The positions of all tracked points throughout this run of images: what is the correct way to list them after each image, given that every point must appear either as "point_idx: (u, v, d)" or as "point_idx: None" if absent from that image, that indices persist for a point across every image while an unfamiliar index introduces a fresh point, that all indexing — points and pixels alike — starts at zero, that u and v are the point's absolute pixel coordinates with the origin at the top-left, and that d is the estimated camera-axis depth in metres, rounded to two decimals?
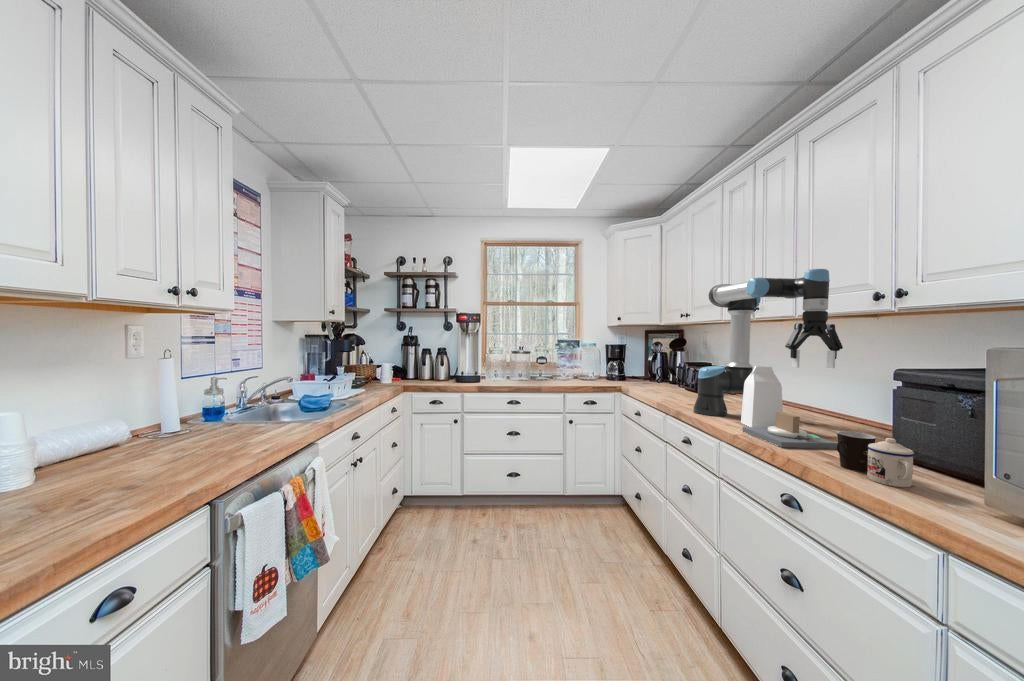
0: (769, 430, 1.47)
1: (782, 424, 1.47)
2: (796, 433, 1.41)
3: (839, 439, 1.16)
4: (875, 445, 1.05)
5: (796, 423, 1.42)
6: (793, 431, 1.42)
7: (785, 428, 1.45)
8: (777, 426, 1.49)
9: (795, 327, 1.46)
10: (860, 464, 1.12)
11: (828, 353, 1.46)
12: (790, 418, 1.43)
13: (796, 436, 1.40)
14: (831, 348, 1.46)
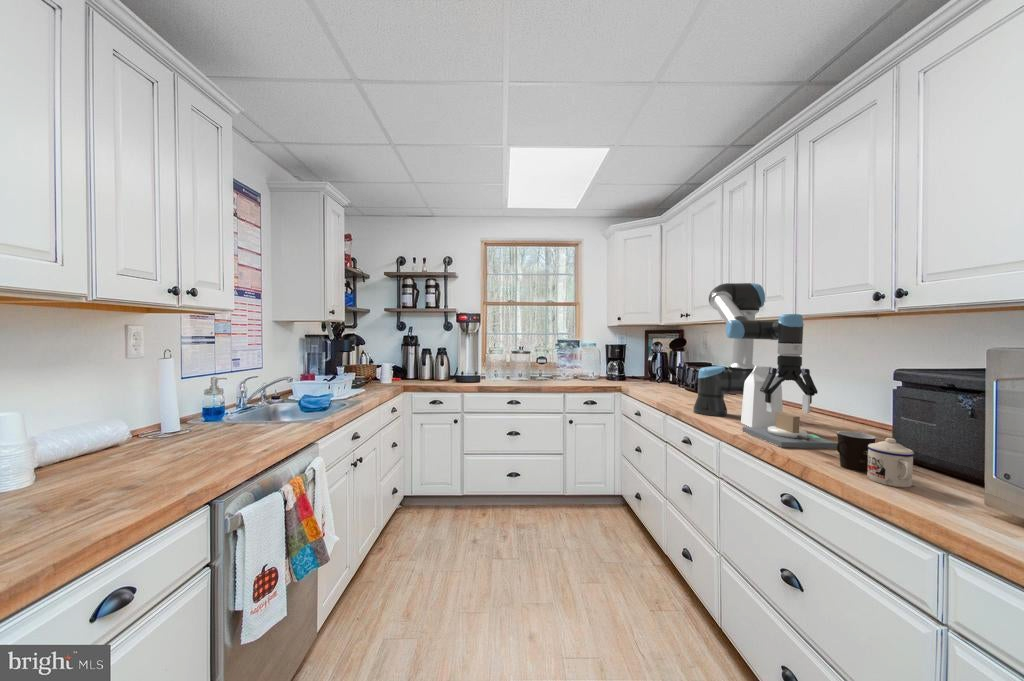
0: (769, 430, 1.47)
1: (782, 424, 1.47)
2: (796, 433, 1.41)
3: (839, 439, 1.16)
4: (875, 445, 1.05)
5: (796, 423, 1.42)
6: (793, 431, 1.42)
7: (785, 428, 1.45)
8: (777, 426, 1.49)
9: (769, 371, 1.46)
10: (860, 464, 1.12)
11: (804, 397, 1.46)
12: (790, 418, 1.43)
13: (796, 436, 1.40)
14: (806, 392, 1.46)
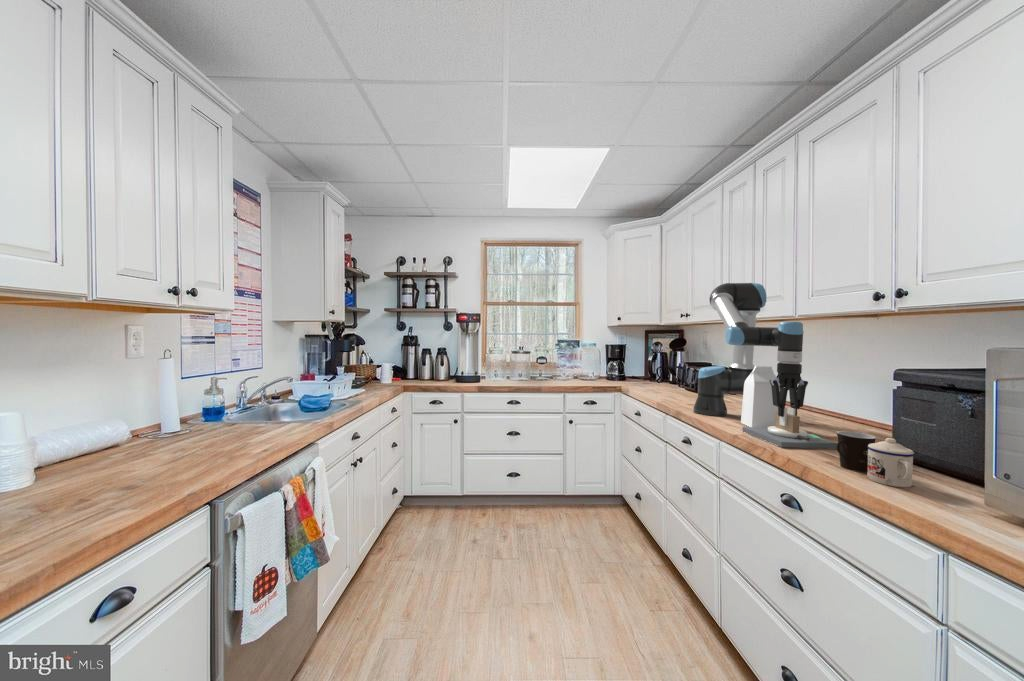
0: (769, 430, 1.47)
1: None
2: (796, 433, 1.41)
3: (839, 439, 1.16)
4: (875, 445, 1.05)
5: (796, 423, 1.42)
6: (793, 431, 1.42)
7: (785, 428, 1.45)
8: (777, 426, 1.49)
9: (771, 384, 1.46)
10: (860, 464, 1.12)
11: (789, 410, 1.47)
12: (790, 418, 1.43)
13: (796, 436, 1.40)
14: (792, 405, 1.46)
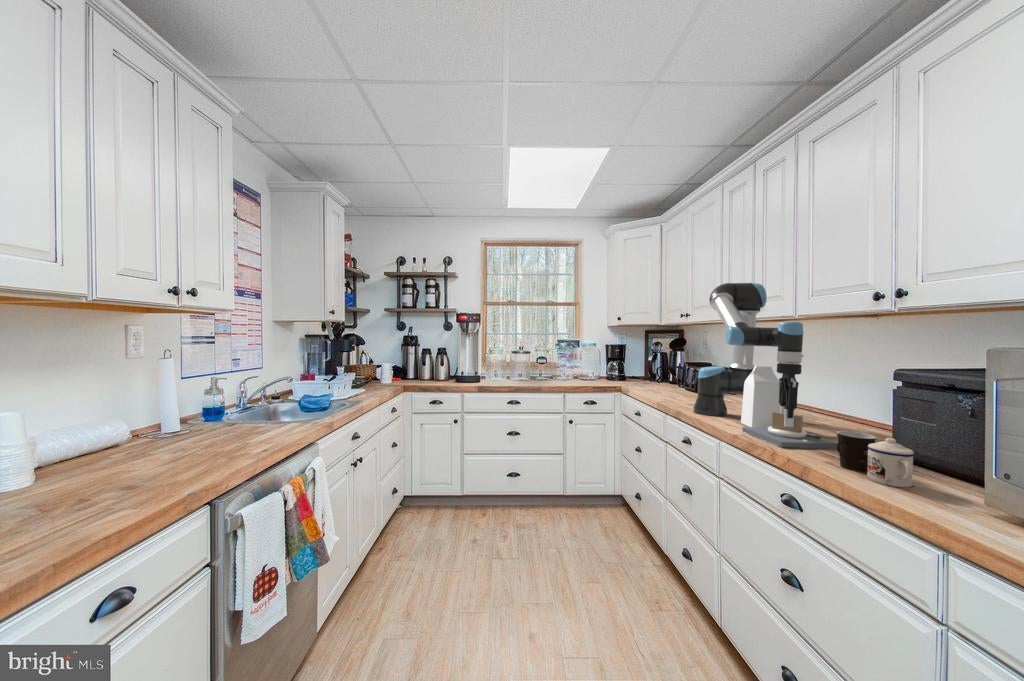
0: (779, 433, 1.43)
1: (783, 424, 1.46)
2: (803, 432, 1.42)
3: (839, 439, 1.16)
4: (875, 445, 1.05)
5: (802, 422, 1.43)
6: (801, 431, 1.42)
7: (789, 429, 1.44)
8: (775, 427, 1.48)
9: (792, 386, 1.40)
10: (860, 464, 1.12)
11: (783, 409, 1.48)
12: (796, 419, 1.43)
13: (805, 436, 1.41)
14: (783, 404, 1.49)
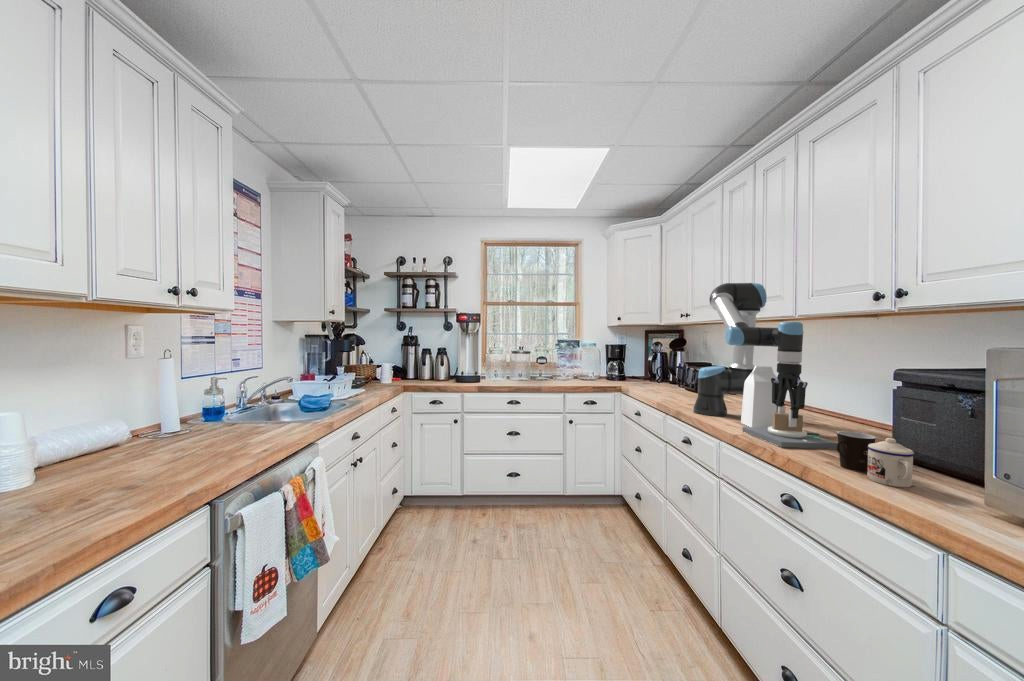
0: (790, 435, 1.41)
1: (786, 425, 1.45)
2: (803, 431, 1.44)
3: (839, 439, 1.16)
4: (875, 445, 1.05)
5: None
6: None
7: (791, 429, 1.45)
8: (777, 428, 1.46)
9: (802, 386, 1.40)
10: (860, 464, 1.12)
11: (781, 409, 1.48)
12: (798, 418, 1.44)
13: None
14: (780, 404, 1.49)
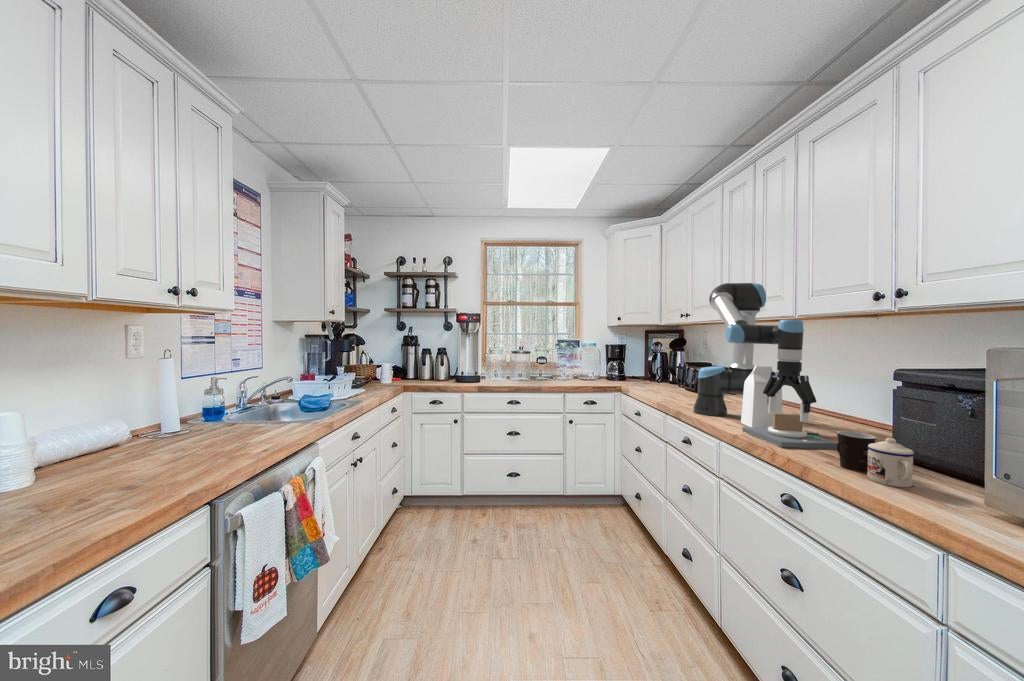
0: (790, 435, 1.41)
1: (786, 425, 1.45)
2: (803, 431, 1.44)
3: (839, 439, 1.16)
4: (875, 445, 1.05)
5: None
6: None
7: (791, 429, 1.45)
8: (778, 428, 1.46)
9: (804, 380, 1.39)
10: (860, 464, 1.12)
11: (771, 399, 1.52)
12: (798, 418, 1.44)
13: None
14: (770, 394, 1.53)
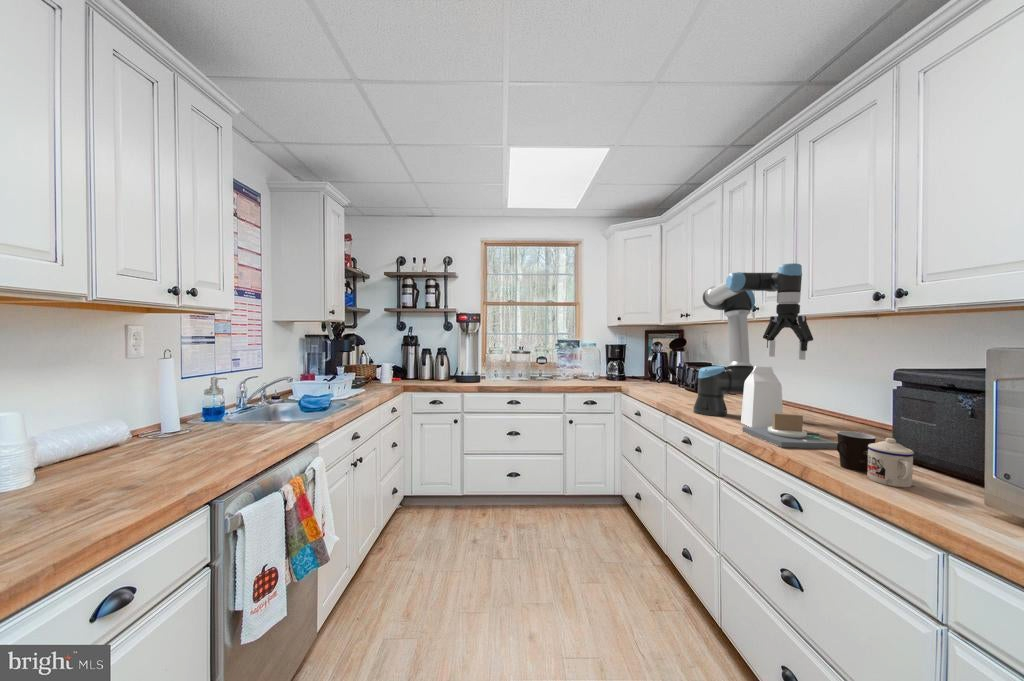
0: (790, 435, 1.41)
1: (786, 425, 1.45)
2: (803, 431, 1.44)
3: (839, 439, 1.16)
4: (875, 445, 1.05)
5: None
6: None
7: (791, 429, 1.45)
8: (778, 428, 1.46)
9: (802, 319, 1.45)
10: (860, 464, 1.12)
11: (771, 343, 1.59)
12: (798, 418, 1.44)
13: None
14: (770, 338, 1.60)
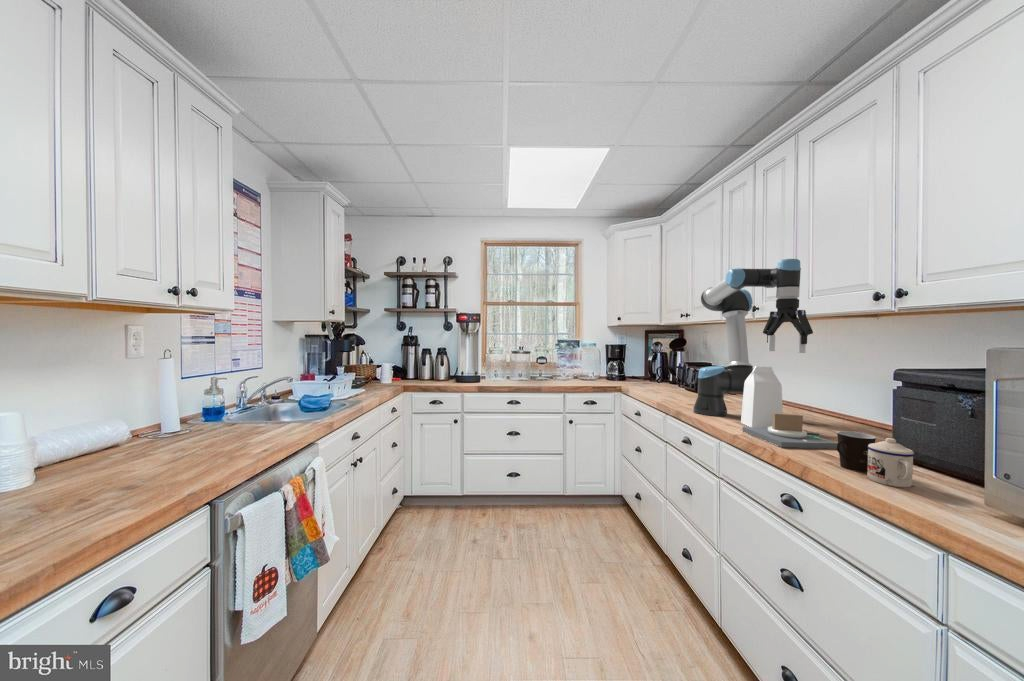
0: (790, 435, 1.41)
1: (786, 425, 1.45)
2: (803, 431, 1.44)
3: (839, 439, 1.16)
4: (875, 445, 1.05)
5: None
6: None
7: (791, 429, 1.45)
8: (778, 428, 1.46)
9: (801, 313, 1.48)
10: (860, 464, 1.12)
11: (771, 338, 1.61)
12: (798, 418, 1.44)
13: None
14: (770, 333, 1.62)
